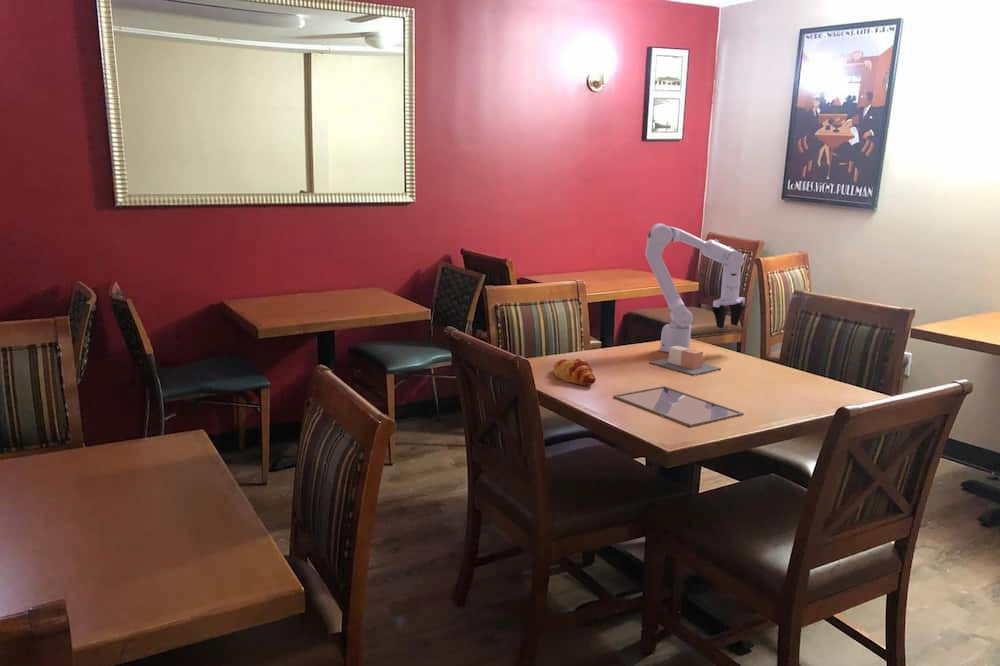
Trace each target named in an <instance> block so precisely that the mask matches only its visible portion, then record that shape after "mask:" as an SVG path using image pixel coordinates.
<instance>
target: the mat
mask: <svg viewBox="0 0 1000 666" xmlns="http://www.w3.org/2000/svg"><path fill="white" fill-rule="evenodd" d="M668 359H669V357H667V358H666V357H665V358H662V359H657V360H651V361H648V363H649V364H651V365H655V366H657V365H658V367H660V368H664V367H665V369H668V368H669V369H668V370H672V371H675V370H676V371H675V372H679V371H680V373H682V372H683V374H686V373H687V375H689V374H691V375H690V376H693V375H696V376H699V375H698V374H700V375H702V374H703V373H704V374H708V373H707V372H709V373H713V372H717V371H716V370H718V371H721V370H722V367H719V366H715V365H710V364H708V363H704V362H702V367H701V368H697V369H691V368H687V367H683V366H680V365H676V364H672V363H668ZM712 371H713V372H712Z"/></svg>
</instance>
